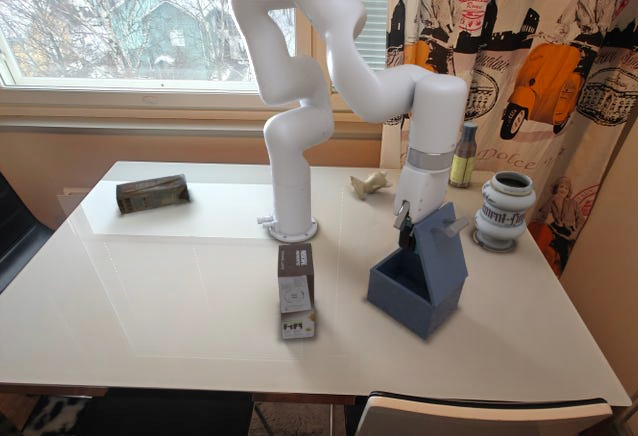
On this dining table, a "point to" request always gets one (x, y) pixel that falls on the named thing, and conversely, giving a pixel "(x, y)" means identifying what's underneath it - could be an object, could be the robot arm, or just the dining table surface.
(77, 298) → the dining table surface
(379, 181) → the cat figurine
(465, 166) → the sauce bottle
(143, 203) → the beverage carton
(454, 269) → the lid
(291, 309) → the coffee box
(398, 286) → the compartment
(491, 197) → the apothecary jar
